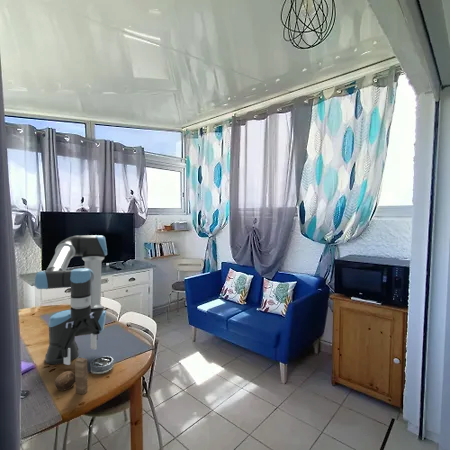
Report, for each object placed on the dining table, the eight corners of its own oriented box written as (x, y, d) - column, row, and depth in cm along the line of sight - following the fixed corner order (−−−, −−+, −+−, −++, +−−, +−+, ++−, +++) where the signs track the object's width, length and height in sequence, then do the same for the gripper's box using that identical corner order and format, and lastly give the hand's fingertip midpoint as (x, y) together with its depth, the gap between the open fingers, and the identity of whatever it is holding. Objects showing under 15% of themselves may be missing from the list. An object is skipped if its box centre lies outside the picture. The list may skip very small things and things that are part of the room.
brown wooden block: (82, 394, 116) (82, 361, 115) (75, 392, 117) (75, 360, 117) (87, 391, 118) (87, 359, 118) (80, 389, 119) (79, 357, 119)
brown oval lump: (61, 372, 126) (62, 365, 122) (78, 378, 126) (80, 372, 123) (50, 390, 119) (50, 383, 116) (68, 396, 120) (69, 390, 116)
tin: (102, 376, 129) (102, 368, 129) (85, 371, 132) (85, 364, 132) (117, 365, 138) (117, 358, 138) (101, 361, 142) (101, 354, 142)
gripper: (61, 317, 103) (61, 373, 104) (109, 298, 126) (109, 344, 127) (46, 314, 105) (46, 369, 106) (96, 296, 129) (96, 341, 130)
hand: (81, 356), depth 117 cm, fingers open, 13 cm apart
